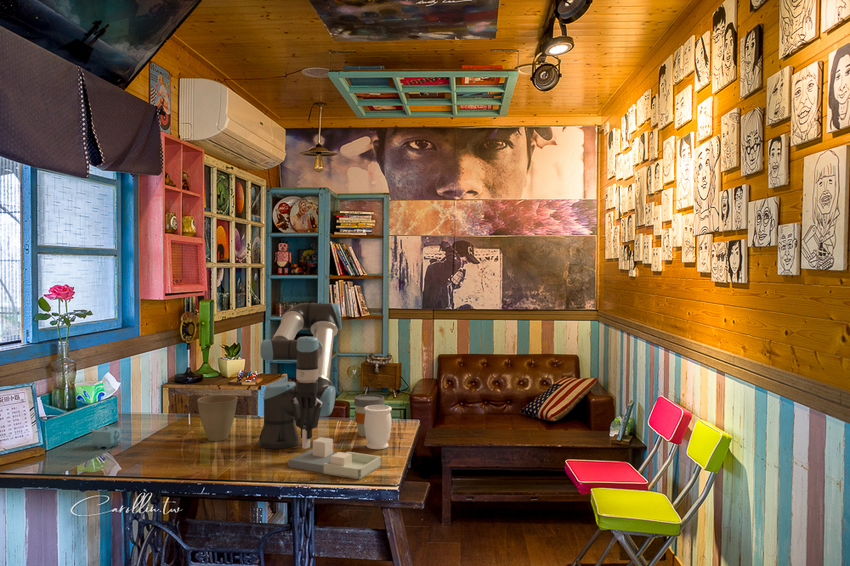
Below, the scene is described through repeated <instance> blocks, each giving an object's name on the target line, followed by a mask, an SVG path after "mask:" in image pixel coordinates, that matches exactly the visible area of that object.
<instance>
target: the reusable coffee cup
mask: <svg viewBox="0 0 850 566" xmlns="http://www.w3.org/2000/svg"><path fill="white" fill-rule="evenodd" d="M353 401H354V403H353V405H354V408H355V410H354V419H355V423H356V427H357V434H358V435H359V436H361V437H366V435H365V427H364V420H365V414H366V411H365V407H366V406H370V405H385V396H383V395H381V394H371V393H370V394H367V393H366V394H359V395H356V396H355V397H354V400H353Z"/></svg>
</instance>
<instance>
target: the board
mask: <svg viewBox="0 0 850 566" xmlns="http://www.w3.org/2000/svg"><path fill="white" fill-rule="evenodd" d="M338 452H339V451H338ZM338 452H337V451H333V453H332V454H330V455H328V456H326V457H320V456H314V455H313V448H311V449H308V450H307V451H304V452H302V453H300V454H298V455H296V456H294V457H291V458H289V459H288V468H292V469H298V470H303V469H304V471H310V472H315V473H320V474H321V473H322V474H324V463H328V464H331V456H332V455H334V454H336V453H338Z"/></svg>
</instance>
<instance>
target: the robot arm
mask: <svg viewBox="0 0 850 566" xmlns="http://www.w3.org/2000/svg"><path fill="white" fill-rule="evenodd" d="M342 326H343V325H342V313H341V306H340V304H339V303H332V302H329V303H325V302H324V303H322V302H321V303H320V302H319V303H318V302H303V303H299V304H296V305H294V306H292V307H290V308H289V309H288V310H286V311H285V312H284V313H283V315H282V316H281V319H280V324H279V327H278V328H277V330H276V332H275V333H274V335H273V336H272V338H271V339H263V340H262V341H261V343H260V348H259V349H260V351H259V352H260V357H261V359H262V360H264V361H271V362H272V361H296V376H295V377H296V378H295V379H296V382H295V381H290V380H289V381H282V382H276V383H271V384H269V385H267V386H266V387H265V388H264V393H263V425H262V428H261V432H260V433H259V436H258V446H259V447H260V448H263V449H268V450H269V449H270V450H281V449H288V448H292V447H296V446H298V445H299V444H300V438H301V442H302V444H301V445H302V446H301V448H302V449H305V450H307V449H309V448H311V439H313V429H316V428H317V427H318V425H319V422H320V421H319V420H320V418H321V417H329V416H330V415H331V414H332V413H333V409H334V406H335V401H336V387H335V386H334V385H333V382H332V381H331V380H330V375H331V366H332V358H333V357H332V355H333V345H334V339H335V336H337V334H338V331H341V330H343V329H342V328H343V327H342ZM301 330H309V331H310V332H311V334H312V335H313V336H300V337H297V339H295V338H296V335H297V334H298V332H300V331H301ZM297 428H299V429H300V435H299V433H298V430H297Z"/></svg>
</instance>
